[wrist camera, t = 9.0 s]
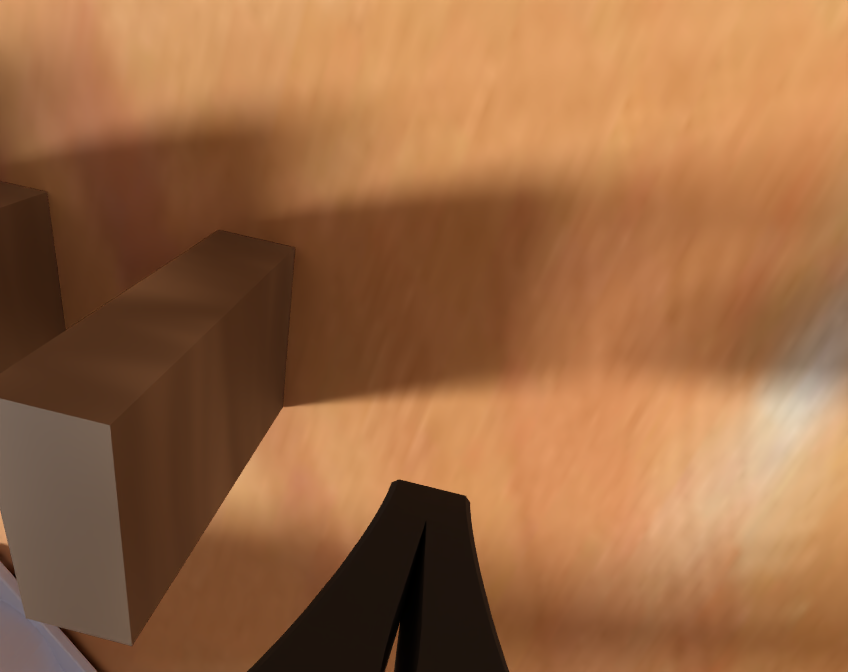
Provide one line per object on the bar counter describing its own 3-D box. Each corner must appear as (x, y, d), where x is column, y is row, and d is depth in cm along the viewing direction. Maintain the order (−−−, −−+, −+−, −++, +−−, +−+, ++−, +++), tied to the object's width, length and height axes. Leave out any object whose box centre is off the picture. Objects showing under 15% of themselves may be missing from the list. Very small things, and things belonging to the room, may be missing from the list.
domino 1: (295, 247, 15) (109, 425, 8) (282, 407, 17) (131, 646, 10) (218, 229, 15) (-28, 391, 8) (216, 391, 17) (26, 618, 10)
